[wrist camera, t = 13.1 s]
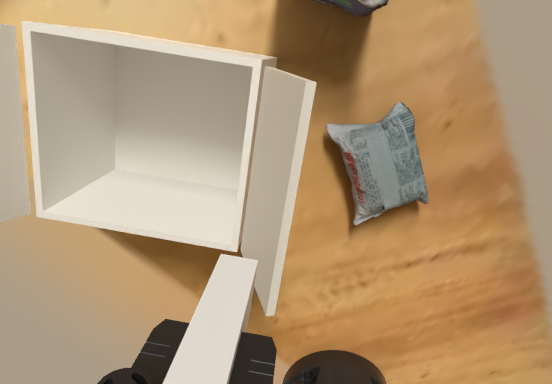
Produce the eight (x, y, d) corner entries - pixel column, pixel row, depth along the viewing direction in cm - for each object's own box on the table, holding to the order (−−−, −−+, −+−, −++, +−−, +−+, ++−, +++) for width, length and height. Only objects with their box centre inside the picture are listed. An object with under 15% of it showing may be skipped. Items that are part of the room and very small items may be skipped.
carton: (257, 195, 47) (237, 252, 33) (113, 170, 47) (36, 216, 34) (277, 57, 41) (262, 59, 28) (113, 30, 41) (21, 20, 28)
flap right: (240, 250, 33) (247, 250, 33) (265, 316, 26) (274, 315, 26) (265, 66, 28) (272, 67, 28) (306, 80, 20) (316, 82, 20)
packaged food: (351, 215, 47) (356, 233, 42) (324, 121, 43) (327, 129, 38) (424, 196, 45) (438, 212, 40) (403, 97, 42) (415, 102, 37)
